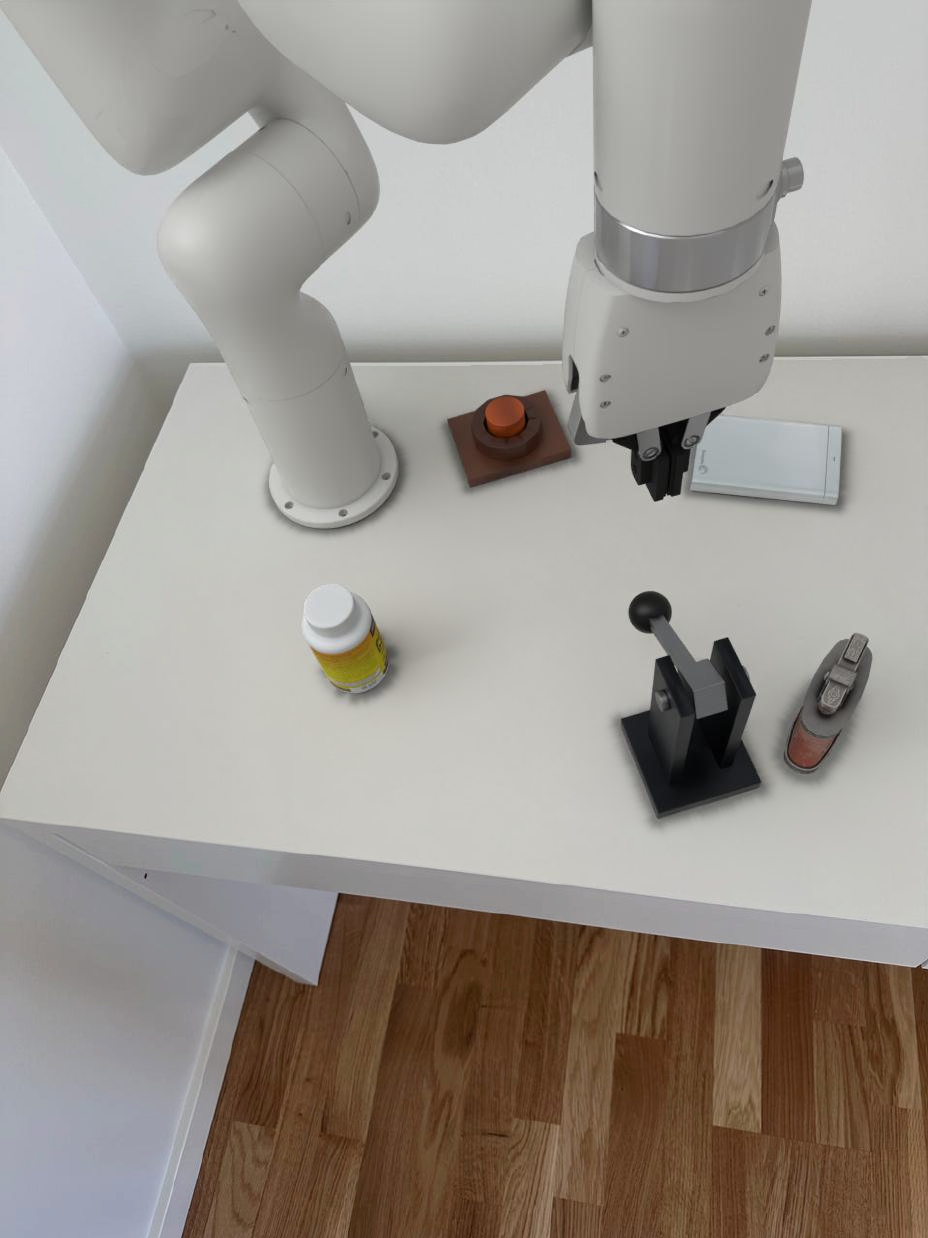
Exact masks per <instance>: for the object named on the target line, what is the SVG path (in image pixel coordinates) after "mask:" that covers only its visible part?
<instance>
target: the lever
mask: <svg viewBox="0 0 928 1238" xmlns="http://www.w3.org/2000/svg"><path fill="white" fill-rule="evenodd" d="M627 613H628V619H629V622H630V624H631V625H632V626H633V627H634V629H636V630H637V631H639V632H641V633H643V634H648V635H651V634H653V635H654V637H655V638H656V640H657V642H658V643H659V644H660V646H661V648H662V649H663V651H664V652H665V654H666V656H667V655H670V657H671V659H672V661H673V663H674V666H675V668H676V670H677V672H678V675H679V677H680V679H681V681H682V684H683V686H684V688H685V690H686V693H687V695H688V697H689V699H690V702H691V704H692V706H693V708H694V711H695V718H696V719H699V718H703V717H706V716H709V715H712V714H716V713H719V712H722V711H725V710H728V703H727V694H726V684H725V681H724V679H723V678H722V677H721V675H720V674H719V672H718V671H717V670H716V668H715V667H714V666H713V664H712V663H711V662H710V658H708V657H707V658H704V659H701V660H696V659H695V658H694V656H693V655H692V654H691V652H690V651H689V649H688V648H687V646H686V645H685V644H684V642H683V641H682V640H681V638H680V637H679V635H678V634H677V632H676V631H675V629H674V628H673V627H672V625H671V624H670V622H671V620H672V617H673V616H672V615H673V608H672V605H671V603H670V601H669V599H668V598H667V596H665V595H664V594H662V593H661V592H658V591H654V590H645V591H642V592H639V594H637V595H635V596H634V598H633V599H632V600H631V601H630V603H629V606H628V611H627Z"/></svg>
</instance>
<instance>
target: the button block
mask: <svg viewBox="0 0 928 1238" xmlns="http://www.w3.org/2000/svg"><path fill="white" fill-rule="evenodd" d="M500 397H513V398H516V399H518V400H519V401H520V402H521V403H522V404H523V406H524V412H525V426H524V428H523V430H522V431H521V432H520V433H519V434H517V435H516V436H513V437H510V438H499V437H496V436H494V435H493V434H491V432H490V431H489V430H488V427H487V421H486V415H485V411H486V408H487V406H488V405H489V404H490V403H491V402H492V401H493V400H495V399H497V398H500ZM446 421H447V425H448V426H447V427H448V430H449V432H450V436H451V438H452V440H453V443H454V447H455V449H456V453H457V455H458V458H459V460H460V463H461V466H462V470H463V472H464V475H465V478H466V481H467V483H468V486H469V488H473V487H478V486H480V485H483V484H488V483H491V482H493V481H497V480H500V479H501V480H502V479H504V478H507V477H510V476H514V475H517V474H521V473H524V472H528V471H531V470H534V469H537V468H541V467H544V466H547V465H550V464H551V465H552V464H554V463H557V462H561V461H565V460H568V459H570V458H572V448H571V446H570V443H569V441H568V439H567V436H566V435H565V432H564V429H563V427H562V425H561V422H560V421H559V418H558V416H557V414H556V411H555V409H554V407H553V405H552V403H551V400H550V398H549V396H548V393H547V391H546V389H544V390H541V391H537V392H534V393H530V394H527V395H524V396H522V395H515V394H502V395H499V396H495V397H493V398H488V399H487V400H485V401H484V402H483V403H482V404H481V405H480V406H479V407H477V408H476V409H475V410H473V411H470V412H466V413H463V414H460V415H459V414H458V415H456V416H453V417H449V418H446Z"/></svg>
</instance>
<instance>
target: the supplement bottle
mask: <svg viewBox="0 0 928 1238" xmlns="http://www.w3.org/2000/svg"><path fill="white" fill-rule="evenodd" d="M367 603H368V602H366V600H365V599H364V598H362V597H361V596H360V595H359V594H357V593H354V592H353V591H350V590H349V589H348V587H346V586H344V585H343V584H339V583H325V584H322V585H320V586H318V587H316V588H314V589H313V590H312V591H310V593H309V594H308V595H307V596H306V598H305V600H304V603H303V609H302V611H303V615H302V619H301V633H302V636H303V638H304V640H305V642H306V643H307V645H308V648H310V650H311V652H312V653H313V655H314V658H315V659H316V661H317V662H318V664H319V666H320V668H321V670H322V671H323V673H324V675H325V676H326V678H327V680H328V681H329V682H330V684H331V685H332V686H334V688H336V689H337V690H339V691H341V692H343V693H344V692H345V693H348V694H361V693H364V692H367V691H369V690H371V689H373V688H375V687H376V686H378V684H380V683H381V682H382V680H383V679H384V678H385V676H386V675H387V672H388V670H389V667H390V666H389V665H390V655H389V651H388V649H387V646H386V643H385V641H384V640H383V637H382V634H381V631H380V629H379V627H378V625H377V623H376V620H375V618H374V616H373V613H372V610H371V609H370V607H369V605H368V604H367Z"/></svg>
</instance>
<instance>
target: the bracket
mask: <svg viewBox="0 0 928 1238" xmlns="http://www.w3.org/2000/svg"><path fill="white" fill-rule="evenodd" d="M709 657H710V658H709V660H710V662H711V663H712V664H713V666H714V667H715V668H716V670H717V671H718V672H719V674H720V675H721V677H722V678H723V679H724V681H725V684H726V694H727V703H728V710H725V711H722V712H719V713H716V714H712V715H709V716H706V717H703V718H699V719H696V718H695V711H694V708H693V706H692V704H691V702H690V699H689V697H688V695H687V693H686V690H685V688H684V686H683V684H682V681H681V679H680V677H679V675H678V672H677V668H676V667H675V665H674V663H673V661H672V659H671V657H670V655H667V654H666V655H664V656H661V657H658V658H655V661H654V669H653V670H654V671H653V678H652V679H653V680H652V687H651V697H650V707H649V710H645V711H641V712H638V713H636V714H632V715H628V716H625V717H622V718H620V727H621V730H622V733H623V735H624V739H625V741H626V743H627V745H628V748H629V751H630V753H631V756H632V759H633V762H634V763H635V766H636V769H637V771H638V773H639V774H638V775H639V776H640V779H641V782H642V783H643V787H644V789H645V791H646V793H647V794H646V795H647V796H648V799H649V802H650V805H651V808H652V809H653V812H654V814H655V816H656V819H657V820H658V819H663V818H665V817H668V816H673V815H675V814H678V813H681V812H685V811H688V810H692V809H695V808H697V807H701V806H705V805H707V804H711V803H714V802H717V801H721V800H723V799H728V798H730V797H733V796H737V795H740V794H743V793H747V792H750V791H752V790H757V789H759V788H760V787H761V784H762V780H761V777H760V776H759V774H758V771H757V769H756V767H755V765H754V763H753V761H752V759H751V756H750V754H749V751H748V750H747V748H746V745H745V744H744V742H743V739H742V738H743V736H744V733H745V730H746V726H747V722H748V720H749V717H750V714H751V711H752V709H753V705H754V702H755V700H756V696H757V693H756V690H755V689H754V686H753V684H752V683H751V677H750V674H749V671H748V670H747V667H745V665H743V664H742V662H741V660H740V658H739V656H738V655H737V652H736V650H735V648H734V646H733V644H732V642H731V640H730V637H728V636H726V637H723V638H719V639H716V640H714V641H713V644H712V649H711V653H710V656H709Z"/></svg>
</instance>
